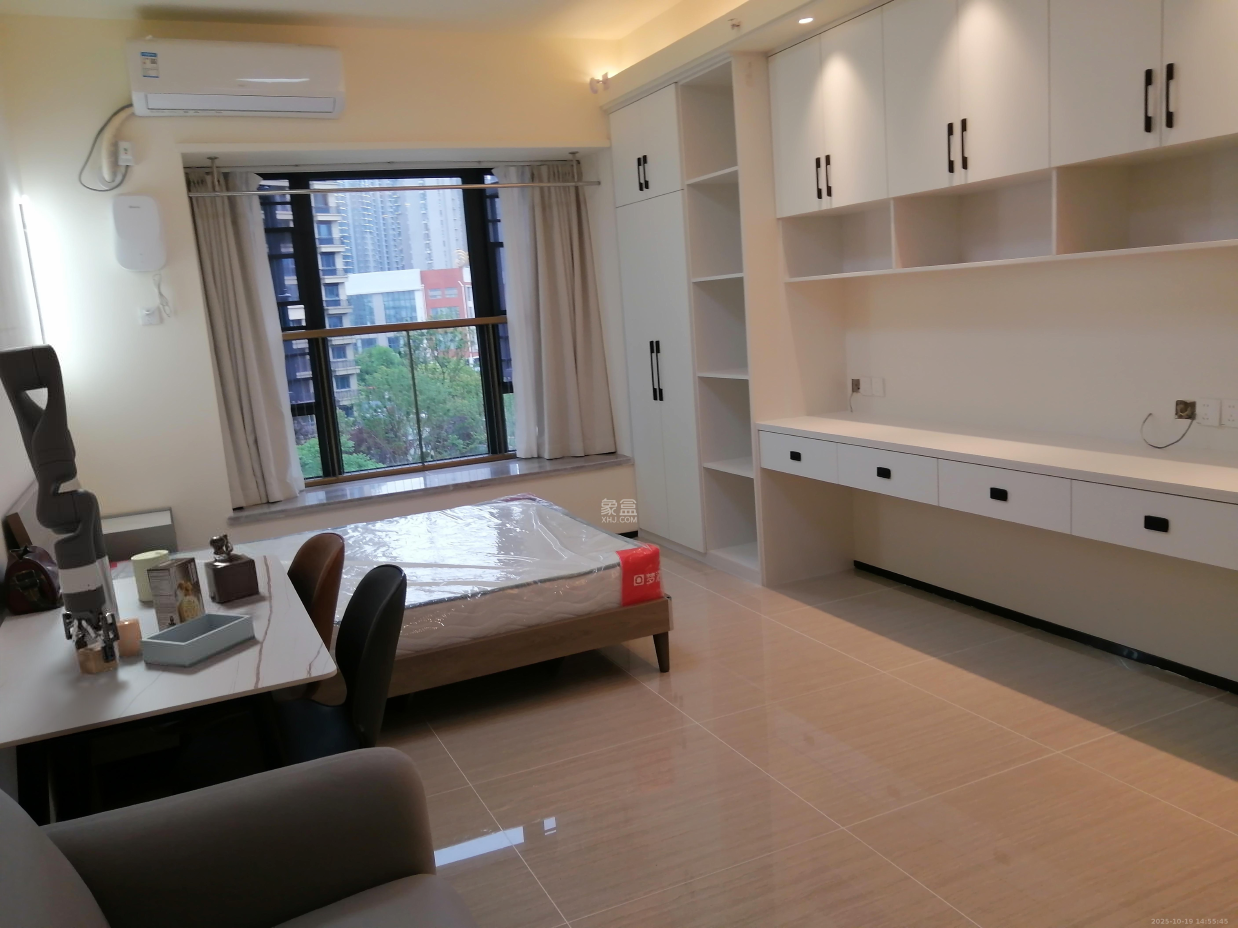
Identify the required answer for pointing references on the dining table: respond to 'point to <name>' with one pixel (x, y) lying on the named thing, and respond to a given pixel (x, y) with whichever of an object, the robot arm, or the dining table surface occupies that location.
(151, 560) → the can
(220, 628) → the tote
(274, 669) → the dining table surface
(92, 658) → the walnut cube
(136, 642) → the peach rounded cylinder
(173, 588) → the coffee box
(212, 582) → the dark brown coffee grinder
